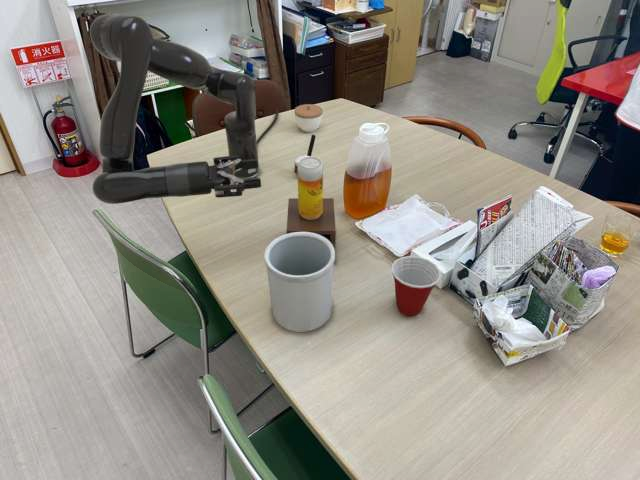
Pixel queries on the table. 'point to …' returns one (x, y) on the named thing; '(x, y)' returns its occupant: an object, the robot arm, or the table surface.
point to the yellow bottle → (310, 187)
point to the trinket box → (308, 117)
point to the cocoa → (307, 153)
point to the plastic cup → (413, 283)
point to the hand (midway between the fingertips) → (259, 172)
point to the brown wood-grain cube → (318, 226)
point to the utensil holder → (300, 280)
